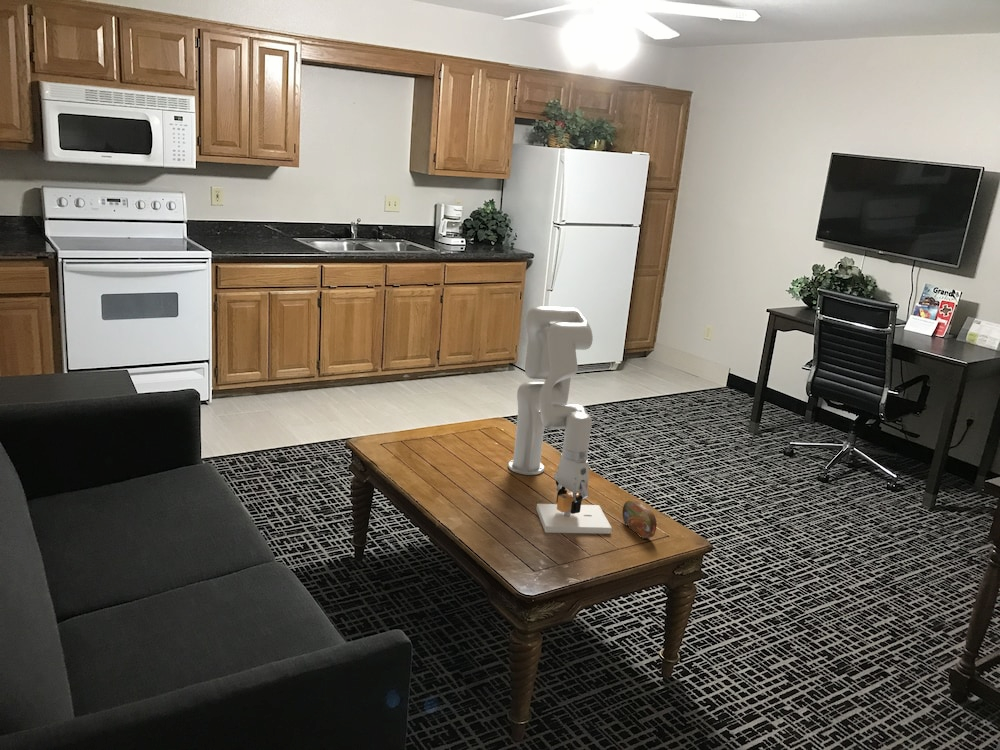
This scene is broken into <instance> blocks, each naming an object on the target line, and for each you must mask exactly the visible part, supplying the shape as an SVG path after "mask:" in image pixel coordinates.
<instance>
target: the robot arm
mask: <svg viewBox="0 0 1000 750" xmlns="http://www.w3.org/2000/svg"><path fill="white" fill-rule="evenodd" d="M525 326H526V327H525V328H526V333H527V347H526V355H525V363H524V371H525V376H526V377H527V378H529V379H532V380H539V381H526V382H523V383H522V384H520V385H519V386H518V389H517V391H516V393H517V394H516V400H517V419H516V429H515V439H514V450H513V459H511V460H509V462H508V465H507V467H508V468H509V470H510V471H511V472H513V473H516V474H519V475H524V476H535V475H539V474H542V473H543V472H544V470H545V465H544V464H543V463H542V462H541V460H542V451H543V442H544V432H545V428H546V429H549V430H564V435H563V445H562V453H561V455H560V459H559V462H558V466H557V472H555V473H554V474H553V477H554V480H555V485H556V491H557V495H556V501H555V502H556V503H555V504H557V502H558V496H559V495H562V494H566V493H568V491H570V492H572V493H573V500H574V501H572V505H571V514H575V513H579V512H580V508H581V505H582V502H583V501H584V500H586V498H588V497H589V496H590V495H589V491H588V488H589V474H590V470H589V468H590V467H589V461H588V454H589V453H588V452H589V446H590V438H591V432H592V430H591V429H592V423H593V421H592V419H593V418H592V416H591V415H589V414H588V410H587V409H586V407H585V406H584V405H582V404H577V403H574V404H572V403H571V404H569V403H568V399H569V393H570V385H571V379H572V377H573V376H575V375H576V374H577V373H578V370H579V368H578V359H577V352H576V351H578V350H579V351H580V350H582V351H584V350H585V351H587V350H588V349H590V348H591V346H592V344H593V341H594V340H593V331H592V328H591V326H590V324H589V322H588V321H587V319H586V317H585V316H584V315H583V313H582V312H581V311H580V310H579V309H578V308H575V307H570V306H568V307H567V306H564V307H563V306H544V305H543V306H533V307H531V308H529V310H528V311H527V312H526V317H525ZM540 380H543V381H540ZM577 493H579V496H578V497H577Z"/></svg>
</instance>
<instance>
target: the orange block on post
mask: <svg viewBox="0 0 1000 750" xmlns="http://www.w3.org/2000/svg"><path fill="white" fill-rule="evenodd" d="M578 496H579V493H577V497H578ZM572 501H574V500H573V493H572V492H571V491H570V492H567V493H566V494H562V495H559V496H558V502H557V503H556V504H557V510H559V511H560V512H566V511H569V510H571V505H572Z"/></svg>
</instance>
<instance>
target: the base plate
mask: <svg viewBox="0 0 1000 750" xmlns="http://www.w3.org/2000/svg"><path fill="white" fill-rule="evenodd" d="M536 512H537V515H538V517H539V520H540V523H541V525H542V528H543V530H544V533H545V534H546V533H550V534H552V533H553V534H555V533H556V534H557V533H558V534H599V535H600V534H601V535H603V534H605V535H606V534H609V535H610V534H611V533H612V526H611V524H610V522H609V521H608V520H609V519H607V517H606V515H605V513H604V511H603V510H602V508H601V506H600V505H599V504H581V508H580V512H579V513H575V514H571V510H569V511H566V512H560V511H559V510H557V503H536Z"/></svg>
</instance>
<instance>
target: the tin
mask: <svg viewBox="0 0 1000 750" xmlns="http://www.w3.org/2000/svg"><path fill="white" fill-rule="evenodd" d="M622 519H623V522H624V525H626V524H627V525H628V526H629V527H630V528H631V529H632V530H633V531H635V532H636V533H637V534H639V535H640V536H641V537H642V538H641V539H648V538H653V537H654V536H655V534H656V531H657V518H656V516H655V514H654V513H653V511H652V510H650V509H649V508H647V506H645V505H643V504H642V503H641V502H640V501H638V500H627V501H625V502H624V504H623V507H622ZM630 528H629V529H630ZM631 529H630V530H631ZM632 530H631V531H632ZM633 531H632V532H633ZM636 533H635V534H636ZM637 534H636V535H637Z"/></svg>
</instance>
